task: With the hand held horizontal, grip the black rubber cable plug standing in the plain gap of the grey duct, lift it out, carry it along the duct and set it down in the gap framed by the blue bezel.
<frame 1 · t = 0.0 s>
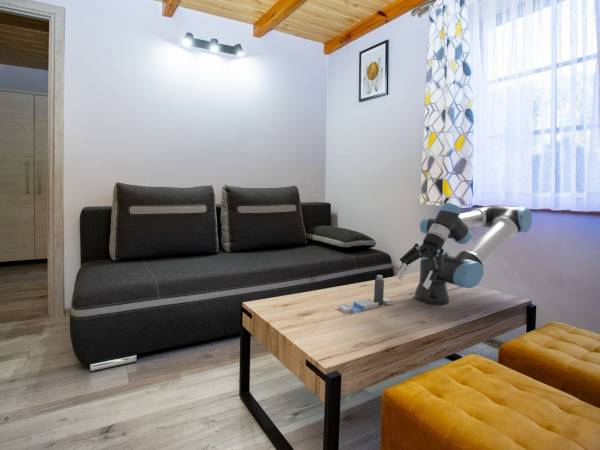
hand: (411, 282, 136), 15 cm above the table, tool tilted 35°, fingers open, 13 cm apart
duct: (366, 306, 152), on the table
cable plug: (378, 304, 155), on the table
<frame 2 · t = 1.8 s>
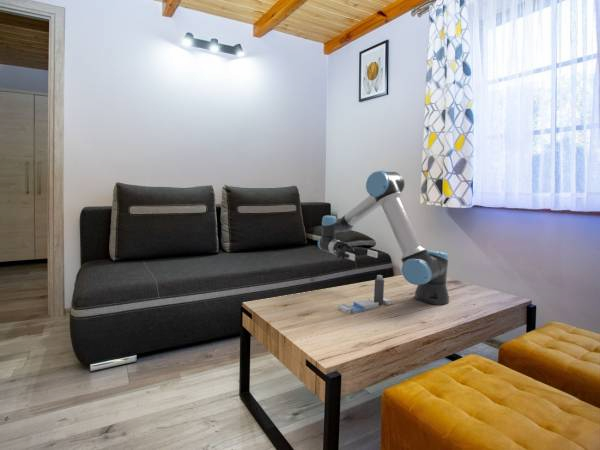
hand: (366, 256, 161), 20 cm above the table, tool horizontal, fingers open, 13 cm apart
nothing on the table moved.
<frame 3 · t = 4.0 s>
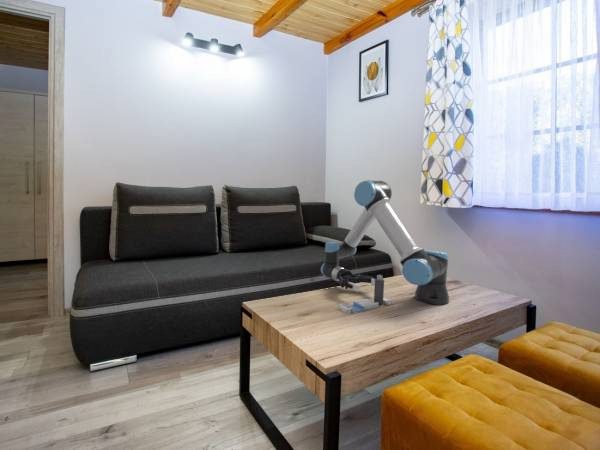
hand: (369, 286, 159), 6 cm above the table, tool horizontal, fingers open, 13 cm apart
nothing on the table moved.
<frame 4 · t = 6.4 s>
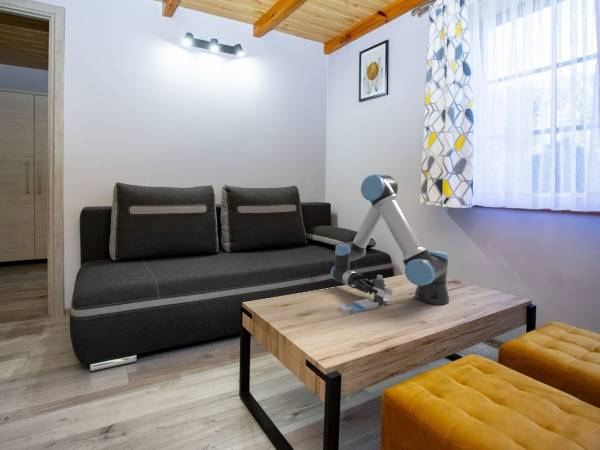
hand: (387, 293, 150), 7 cm above the table, tool horizontal, fingers closed on cable plug, 4 cm apart
cable plug: (378, 304, 155), on the table, touching gripper
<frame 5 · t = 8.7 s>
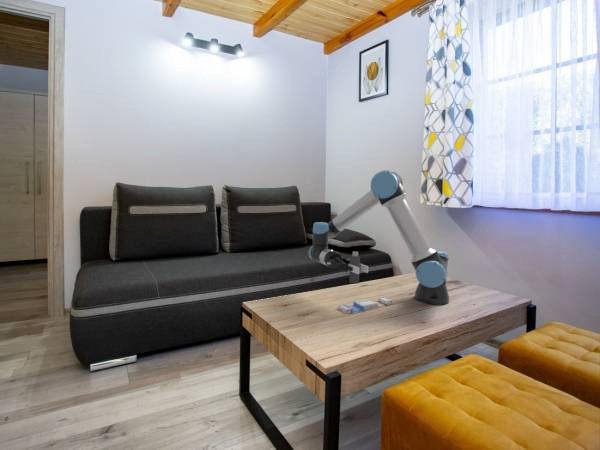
hand: (363, 270, 142), 18 cm above the table, tool horizontal, fingers closed on cable plug, 4 cm apart
cable plug: (354, 282, 147), point 12 cm above the table, touching gripper
when the fingers open (7 cm above the table, at t = 10.9 s): cable plug stays where it is, resting on duct.
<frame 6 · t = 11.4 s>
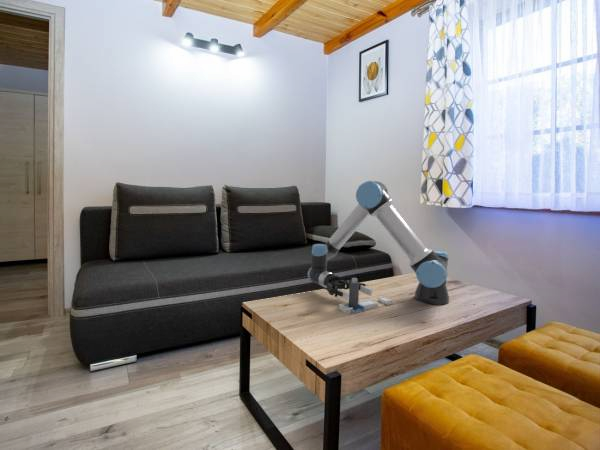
hand: (360, 294, 144), 7 cm above the table, tool horizontal, fingers open, 11 cm apart
cable plug: (353, 308, 148), resting on duct
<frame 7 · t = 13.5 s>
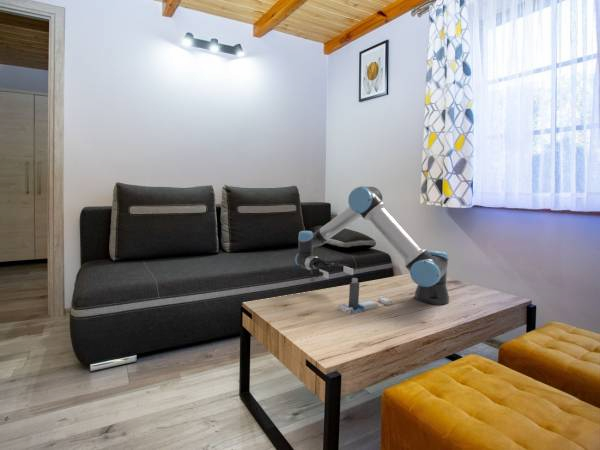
hand: (340, 273, 156), 13 cm above the table, tool horizontal, fingers open, 13 cm apart
nothing on the table moved.
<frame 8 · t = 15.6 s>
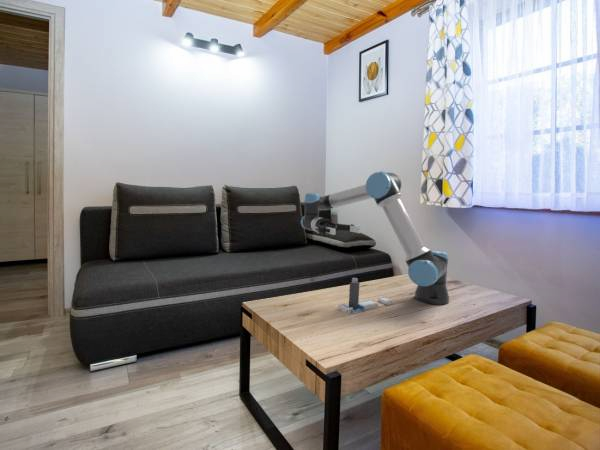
hand: (347, 231, 155), 32 cm above the table, tool horizontal, fingers open, 13 cm apart
nothing on the table moved.
at the end: cable plug 0.1 cm from the target spot on the duct, point 0.3 cm above the duct's base; cable plug tilted 1°; the gripper is holding nothing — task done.
